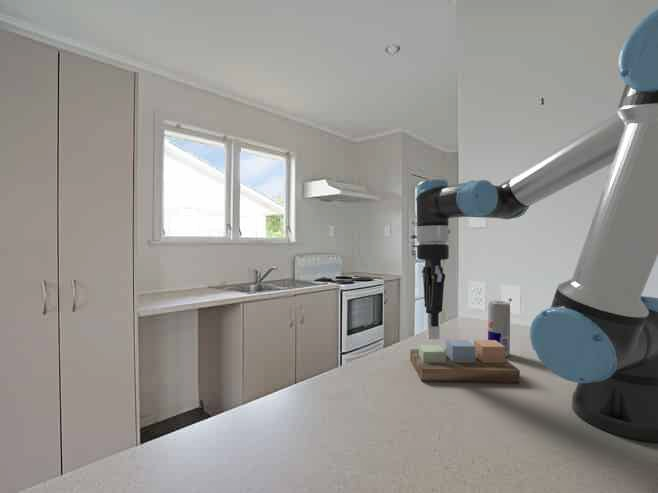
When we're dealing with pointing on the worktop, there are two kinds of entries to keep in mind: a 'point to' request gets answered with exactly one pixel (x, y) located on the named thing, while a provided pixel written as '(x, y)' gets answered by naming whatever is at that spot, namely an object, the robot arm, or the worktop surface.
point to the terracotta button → (489, 351)
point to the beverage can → (499, 323)
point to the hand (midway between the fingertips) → (433, 338)
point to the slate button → (460, 351)
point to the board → (464, 371)
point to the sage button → (432, 354)
